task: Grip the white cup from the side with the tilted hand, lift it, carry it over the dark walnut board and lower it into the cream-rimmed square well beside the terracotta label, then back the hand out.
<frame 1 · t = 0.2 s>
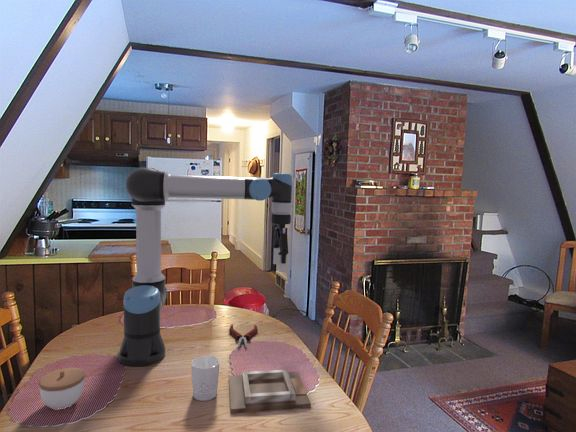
hand: (279, 267, 157), 28 cm above the table, tool pointing down, fingers open, 13 cm apart
lidded jar: (63, 404, 110), on the table
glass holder: (267, 392, 118), on the table
pliers: (239, 339, 158), on the table
white cup: (205, 395, 116), on the table
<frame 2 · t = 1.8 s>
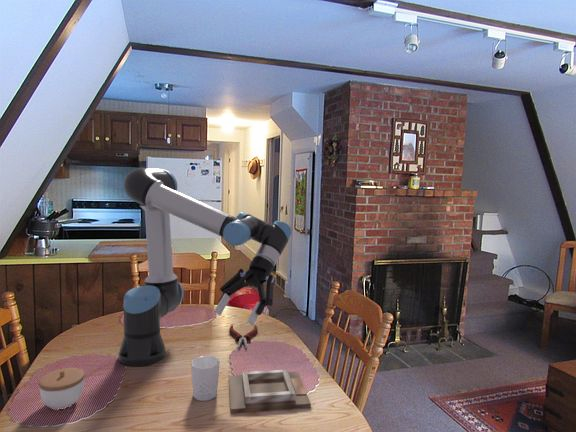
hand: (233, 318, 123), 20 cm above the table, tool tilted 45°, fingers open, 13 cm apart
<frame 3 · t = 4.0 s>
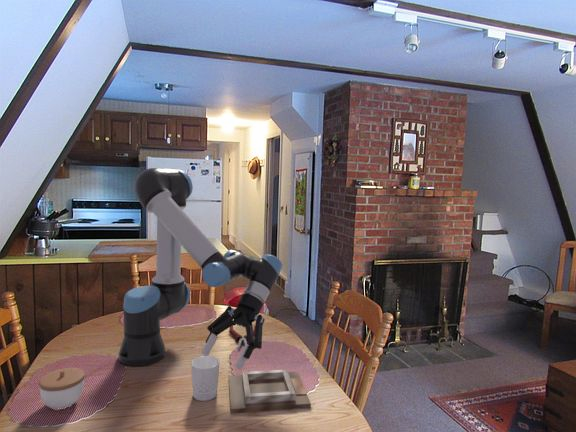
hand: (220, 361, 118), 9 cm above the table, tool tilted 45°, fingers open, 13 cm apart
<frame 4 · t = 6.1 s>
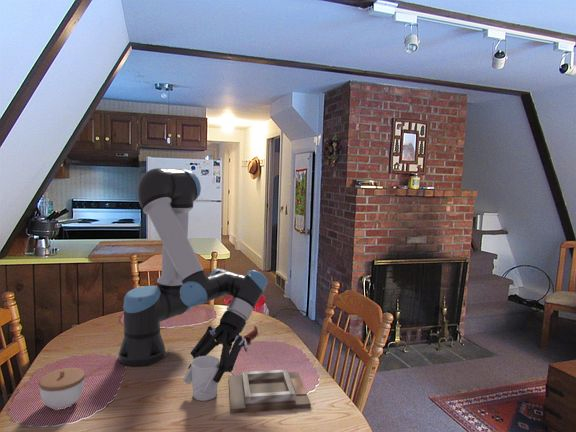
hand: (196, 387, 113), 4 cm above the table, tool tilted 45°, fingers closed on white cup, 8 cm apart
white cup: (205, 395, 116), on the table, touching gripper
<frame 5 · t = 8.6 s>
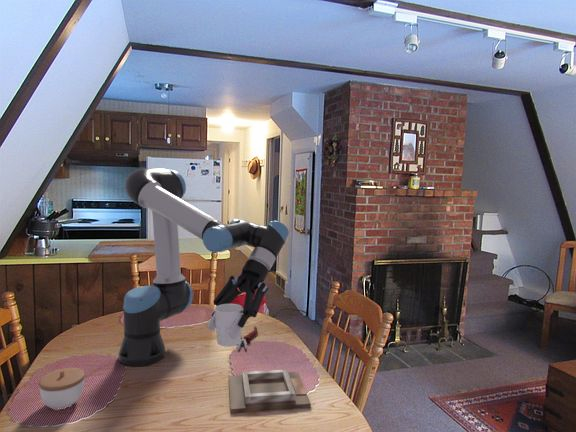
hand: (220, 332, 111), 20 cm above the table, tool tilted 45°, fingers closed on white cup, 8 cm apart
white cup: (229, 342, 115), point 16 cm above the table, touching gripper
when the fingers open (6 cm above the table, at t = 11.4 s): white cup stays where it is, resting on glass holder.
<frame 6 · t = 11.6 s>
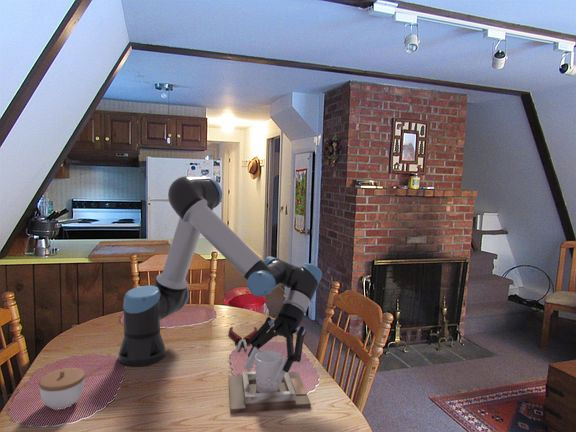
hand: (261, 375, 115), 7 cm above the table, tool tilted 45°, fingers open, 10 cm apart
white cup: (267, 389, 118), point 1 cm above the table, touching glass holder
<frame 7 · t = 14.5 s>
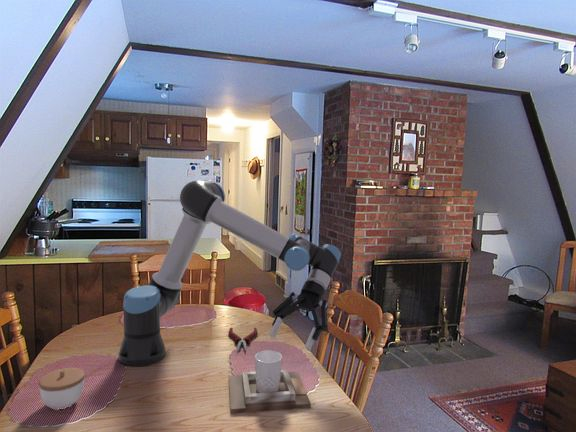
hand: (288, 342, 126), 12 cm above the table, tool tilted 45°, fingers open, 13 cm apart
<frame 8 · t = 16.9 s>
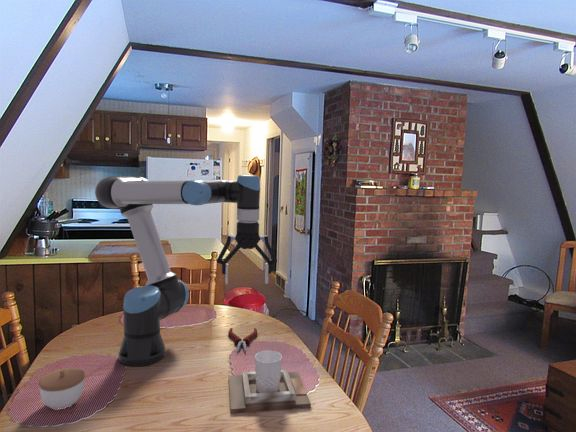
hand: (246, 283, 137), 27 cm above the table, tool pointing down, fingers open, 13 cm apart
at the end: white cup 0.1 cm off-centre on the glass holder, point 1.0 cm above the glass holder's base; white cup tilted 0°; the gripper is holding nothing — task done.
